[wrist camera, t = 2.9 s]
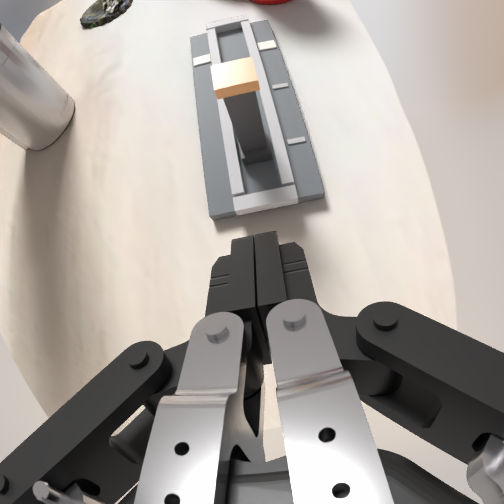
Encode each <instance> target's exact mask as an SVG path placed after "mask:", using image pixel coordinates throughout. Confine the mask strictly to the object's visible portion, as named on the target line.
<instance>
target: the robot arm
mask: <svg viewBox="0 0 504 504" xmlns="http://www.w3.org/2000/svg"><path fill="white" fill-rule="evenodd" d="M73 112H74V100H73V99H72V97H71V96H70V95H69V94H68V93H67V92H66V91H65V90H64V89H63V88H62V87H61V86H60V85H59V84H58V83H57V82H56V81H55V80H54V79H53V78H52V77H51V76H50V75H49V74H48V73H47V72H46V71H45V70H44V69H43V67H42V66H41V65H40V64H39V63H38V62H37V61H36V60H35V59H34V58H33V57H32V56H31V55H30V54H29V53H28V52H27V51H26V50H25V49H24V48H23V47H22V46H21V45H20V44H19V43H18V42H17V41H16V40H15V39H14V38H13V36H12V35H11V34H10V33H9V32H8V31H7V30H6V29H5V28H4V27H3V26H2V25H1V24H0V133H1V134H3V135H4V136H6V137H7V138H8V139H10V140H11V141H13V142H14V143H16V144H17V145H18V146H20V147H21V148H23V149H24V150H27V149H29V148H30V149H33V150H41V149H44V148H46V147H47V146H49V145H50V144H52V143H53V142H54V141H55V140H56V139H57V138H58V137H59V136H60V135H61V134H62V132H63V131H64V130H65V128H66V127H67V125H68V123H69V122H70V120H71V117H72V115H73ZM209 286H210V288H209V292H208V299H207V306H206V313H205V317H204V318H203V319H201V320H200V321H199V322H198V323H197V324H196V325H195V326H194V328H193V330H192V332H191V336H190V340H188V341H187V342H185V343H182V344H180V345H178V346H175V347H172V348H170V349H167V350H165V351H163V349H162V348H161V346H160V345H159V344H157V343H155V342H153V341H141V342H138V343H135V344H133V345H131V346H130V347H128V348H127V349H126V350H124V351H123V352H122V353H121V354H120V355H119V356H118V357H117V358H115V359H114V360H113V361H112V362H111V363H110V364H109V365H108V366H107V367H105V368H104V369H103V370H102V371H101V372H100V373H99V374H98V375H96V376H95V377H94V378H93V379H92V380H91V381H90V382H89V383H88V384H86V385H85V386H84V387H83V388H82V389H81V390H80V391H79V392H78V393H76V394H75V395H74V396H73V397H72V398H71V399H70V400H69V401H68V402H67V403H65V404H64V405H63V406H62V407H61V408H60V409H59V410H58V411H57V412H55V413H54V414H53V415H52V416H51V417H50V418H49V419H48V420H47V421H46V422H45V423H43V425H41V426H40V427H39V428H38V429H37V430H36V431H35V432H33V434H31V435H30V436H29V437H28V438H27V439H26V440H25V441H24V442H23V443H21V444H20V445H19V446H18V447H17V448H16V449H15V450H14V451H13V452H12V453H11V454H10V455H8V456H7V457H6V458H5V459H4V460H3V461H2V462H1V463H0V504H114V503H115V502H117V501H118V500H119V499H120V498H121V497H122V496H123V495H124V494H125V493H126V492H127V491H128V490H129V489H131V488H132V487H133V486H134V485H135V484H136V483H137V482H138V481H139V483H138V484H137V485H136V486H135V487H134V488H133V489H132V490H131V491H130V492H129V493H128V494H127V495H126V496H125V497H124V498H123V499H122V500H121V501H120V502H119V503H118V504H478V503H477V502H475V501H474V500H472V499H470V498H468V497H467V496H465V495H463V494H462V493H460V492H458V491H457V490H455V489H454V488H452V487H451V486H449V485H447V484H446V483H444V482H443V481H441V480H440V479H438V478H436V477H435V476H433V475H432V474H430V473H429V472H427V471H426V470H424V469H422V468H421V467H420V466H418V465H417V464H415V463H414V462H412V461H410V460H409V459H407V458H405V457H403V456H401V455H399V454H396V453H393V452H390V451H386V450H382V449H377V448H376V445H375V442H374V439H373V436H372V433H371V430H370V427H369V424H368V421H367V418H366V416H365V413H364V410H363V407H362V404H361V401H363V402H364V403H366V404H367V405H369V406H371V407H372V408H373V409H375V410H376V411H378V412H380V413H381V414H383V415H384V416H386V417H388V418H389V419H391V420H392V421H394V422H396V423H397V424H399V425H400V426H402V427H404V428H405V429H407V430H409V431H410V432H412V433H414V434H415V435H417V436H419V437H420V438H422V439H424V440H426V441H427V442H429V443H431V444H432V445H434V446H436V447H437V448H439V449H441V450H442V451H444V452H446V453H448V454H450V455H451V456H453V457H455V458H457V459H458V460H460V461H462V462H464V463H466V464H467V465H468V467H467V482H468V485H469V486H470V488H471V489H472V491H474V492H475V493H476V494H477V495H479V497H480V498H481V499H482V501H483V503H484V504H504V353H502V352H500V351H498V350H496V349H494V348H492V347H490V346H488V345H486V344H484V343H481V342H479V341H477V340H475V339H473V338H471V337H469V336H467V335H464V334H462V333H460V332H458V331H456V330H454V329H452V328H449V327H447V326H445V325H443V324H441V323H439V322H437V321H434V320H432V319H430V318H428V317H426V316H424V315H422V314H419V313H417V312H415V311H413V310H411V309H409V308H406V307H404V306H402V305H400V304H397V303H394V302H377V303H373V304H371V305H368V306H367V307H365V308H364V309H363V310H362V311H361V312H360V313H359V315H358V316H357V317H343V316H336V315H333V314H330V313H328V312H326V311H325V310H323V309H322V308H321V307H320V306H319V304H318V302H317V299H316V295H315V292H314V288H313V284H312V280H311V276H310V273H309V269H308V265H307V262H306V258H305V254H304V251H303V249H302V248H301V247H300V246H299V245H297V244H296V243H295V242H292V243H287V244H282V245H279V242H278V237H277V232H276V231H272V232H267V233H262V234H257V235H255V238H254V236H253V235H252V236H248V237H243V238H238V239H233V240H232V243H231V255H227V256H222V257H219V258H218V260H217V261H216V262H215V264H214V265H213V267H212V271H211V279H210V285H209ZM271 354H272V357H271ZM272 360H273V366H274V371H275V377H276V383H277V388H276V395H277V402H278V408H279V414H280V420H281V426H282V431H283V437H284V443H285V449H286V456H283V457H280V458H278V459H275V460H272V461H269V462H265V453H264V448H263V425H264V404H265V384H264V381H263V380H264V371H263V365H265V364H272ZM360 400H361V401H360ZM142 405H144V406H145V409H144V410H143V411H142V412H141V413H140V414H139V415H138V416H137V417H136V418H135V419H134V420H133V421H132V422H131V423H130V424H129V425H128V426H127V427H125V428H124V429H123V430H122V431H121V432H120V433H119V434H118V435H116V436H111V435H112V433H113V432H114V431H115V430H116V429H117V428H118V427H120V426H121V425H122V424H123V423H124V422H125V421H126V420H127V419H128V418H129V417H130V416H131V415H132V414H133V413H134V412H135V411H136V410H137V409H138V408H139V407H140V406H142Z"/></svg>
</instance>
